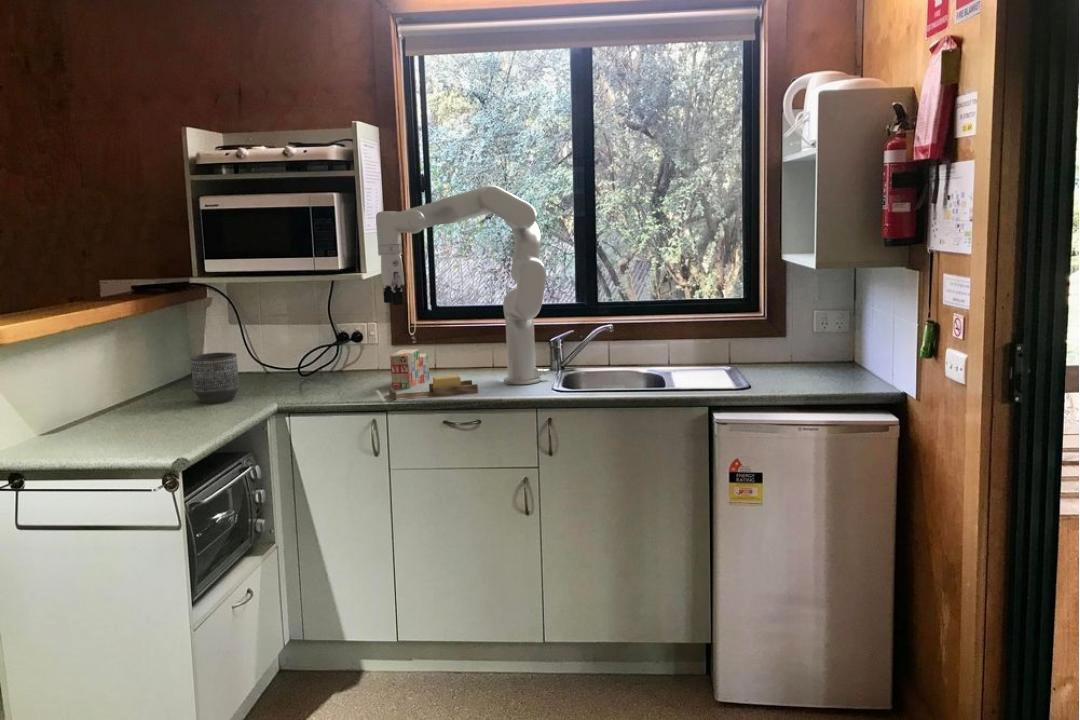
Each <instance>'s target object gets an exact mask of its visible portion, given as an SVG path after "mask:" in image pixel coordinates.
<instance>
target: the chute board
mask: <svg viewBox="0 0 1080 720" xmlns="http://www.w3.org/2000/svg"><path fill="white" fill-rule="evenodd" d="M478 385H479V384H475V383H474V384H473V380H472V379H468V380H467V379H466V380H461V386H451V387H440V388H434V390H433V382H431V383H428V390H427V391H424V390H422V391H413V392H402V393H400V392H399V393H397V392H396V391H395V389H393V388H392V386H391V387H390V386H389V387H388V396H389V397H390V398H391V399H392V401H403V400H412V399H423V398H425V399H427V398H434V397H435V398H436V397H443V396H457V395H468V394H469V395H470V394H477V393H479V387H478Z"/></svg>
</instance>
